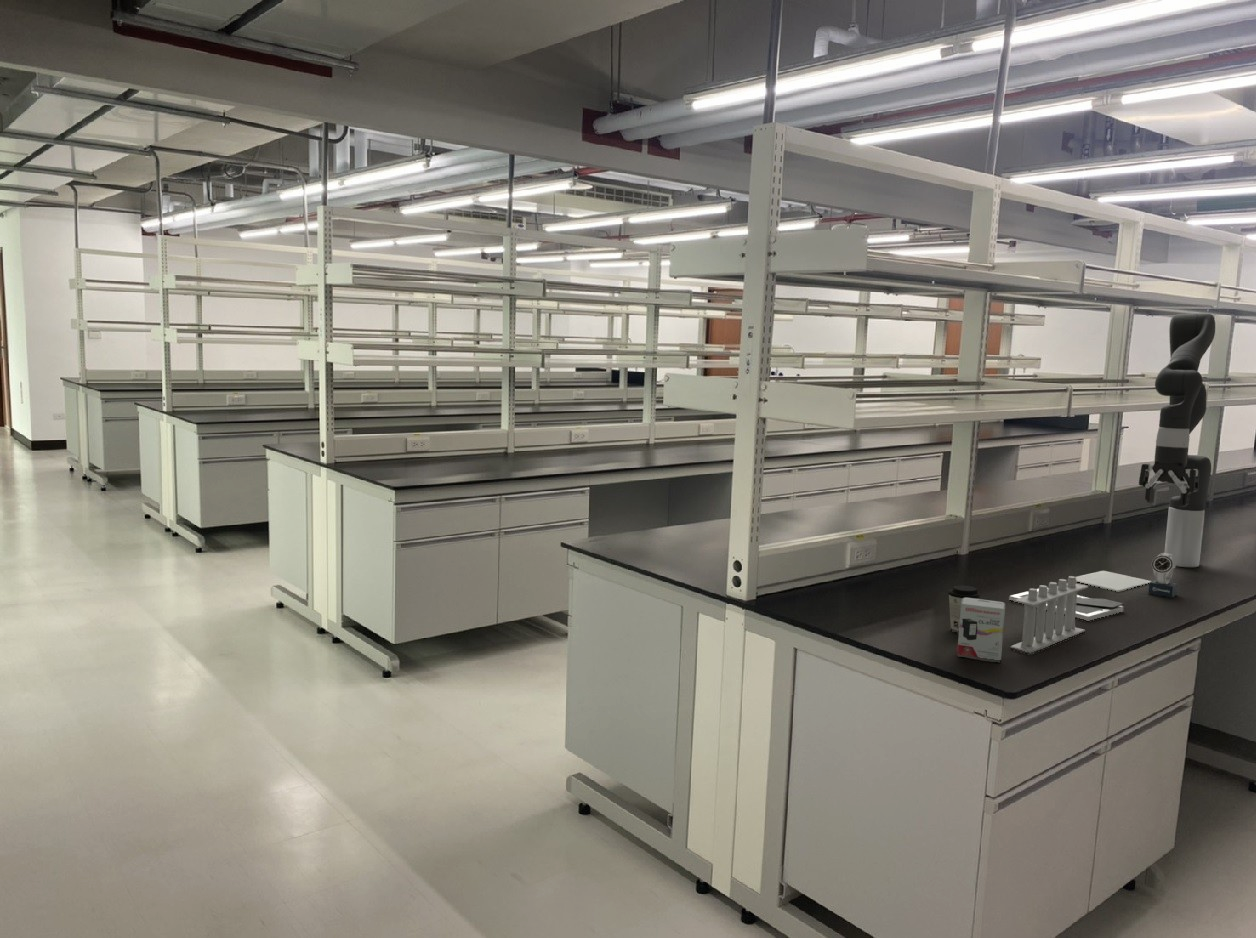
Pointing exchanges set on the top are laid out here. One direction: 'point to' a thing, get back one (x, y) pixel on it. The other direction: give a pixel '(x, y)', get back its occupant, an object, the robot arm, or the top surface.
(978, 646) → the ink box
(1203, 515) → the robot arm
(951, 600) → the coffee cup
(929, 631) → the top surface
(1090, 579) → the mat
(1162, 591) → the watch
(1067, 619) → the test tube rack
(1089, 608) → the picture frame
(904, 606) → the top surface
